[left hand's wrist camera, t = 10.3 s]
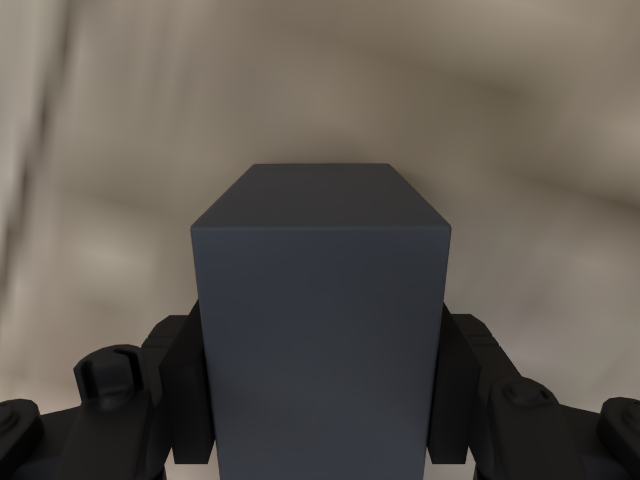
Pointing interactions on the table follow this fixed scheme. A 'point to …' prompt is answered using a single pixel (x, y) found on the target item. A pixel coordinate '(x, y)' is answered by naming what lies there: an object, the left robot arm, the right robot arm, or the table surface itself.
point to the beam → (321, 321)
